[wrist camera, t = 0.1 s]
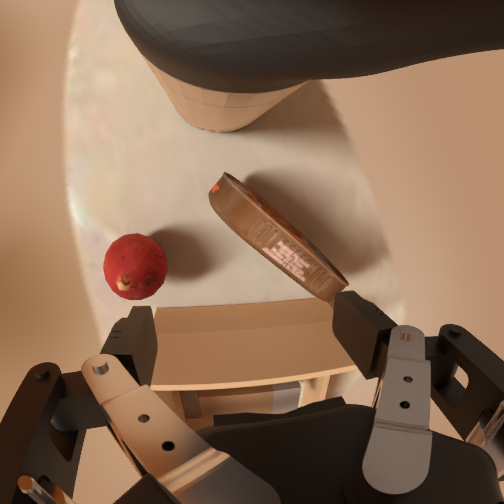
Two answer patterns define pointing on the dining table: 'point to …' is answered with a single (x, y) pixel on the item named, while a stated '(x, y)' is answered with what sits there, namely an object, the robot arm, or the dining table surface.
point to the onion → (135, 266)
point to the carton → (245, 349)
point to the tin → (275, 238)
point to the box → (250, 399)
